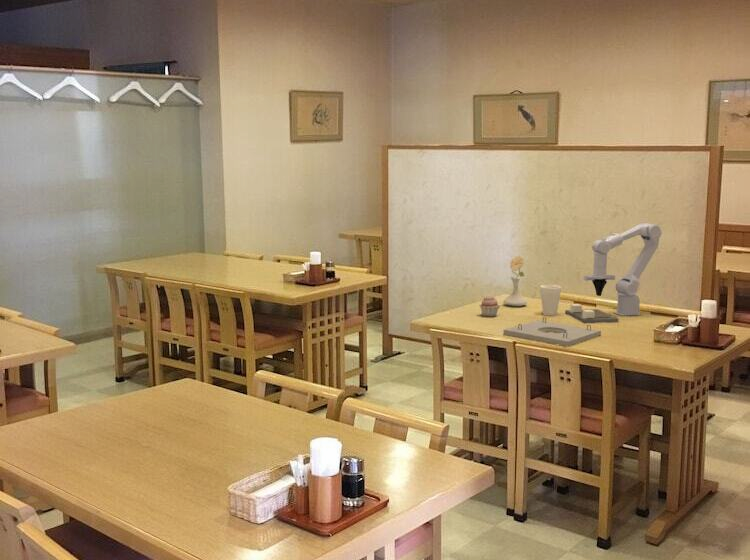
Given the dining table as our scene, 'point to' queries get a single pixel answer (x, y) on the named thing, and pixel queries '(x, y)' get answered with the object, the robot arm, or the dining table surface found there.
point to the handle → (575, 307)
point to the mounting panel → (559, 336)
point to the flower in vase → (516, 284)
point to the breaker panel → (598, 316)
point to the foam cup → (550, 299)
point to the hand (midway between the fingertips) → (598, 295)
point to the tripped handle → (588, 313)
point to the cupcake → (489, 306)
